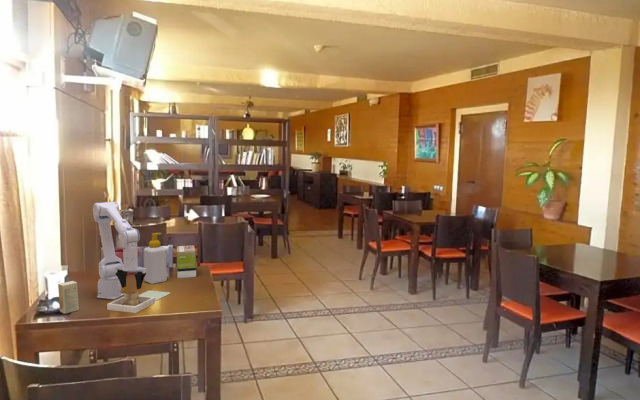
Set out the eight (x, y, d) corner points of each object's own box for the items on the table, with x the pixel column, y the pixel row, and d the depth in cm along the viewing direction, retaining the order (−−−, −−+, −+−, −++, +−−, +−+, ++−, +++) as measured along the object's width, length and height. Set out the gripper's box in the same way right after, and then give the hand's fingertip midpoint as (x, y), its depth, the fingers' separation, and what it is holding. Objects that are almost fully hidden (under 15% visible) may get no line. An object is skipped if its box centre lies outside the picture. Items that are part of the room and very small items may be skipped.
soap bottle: (167, 281, 245) (166, 233, 242) (151, 284, 238) (150, 235, 235) (159, 277, 251) (158, 231, 248) (143, 281, 244) (142, 233, 241)
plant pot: (135, 268, 270) (134, 246, 269) (143, 273, 259) (143, 250, 258) (109, 271, 261) (108, 249, 260) (116, 277, 250) (116, 253, 249)
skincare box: (74, 308, 202) (73, 280, 201) (79, 310, 199) (78, 282, 198) (58, 311, 197) (57, 283, 196) (63, 314, 194) (62, 285, 193)
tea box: (176, 271, 265) (176, 245, 263) (195, 270, 268) (194, 244, 266) (177, 278, 251) (176, 251, 249) (196, 277, 254) (196, 250, 252)
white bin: (107, 309, 200) (107, 304, 200) (128, 299, 214) (128, 294, 214) (135, 313, 197) (135, 307, 197) (155, 302, 210) (155, 297, 210)
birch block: (124, 307, 204) (124, 293, 203) (130, 304, 208) (130, 290, 207) (132, 308, 203) (132, 294, 202) (138, 305, 207) (138, 291, 206)
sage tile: (133, 298, 216) (132, 297, 216) (148, 291, 227) (148, 290, 227) (155, 301, 213) (155, 300, 213) (170, 293, 224) (170, 292, 224)
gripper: (109, 258, 201) (110, 289, 203) (139, 260, 198) (140, 292, 199) (120, 254, 208) (121, 284, 209) (149, 257, 204) (150, 287, 206)
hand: (131, 287), depth 205 cm, fingers open, 7 cm apart
